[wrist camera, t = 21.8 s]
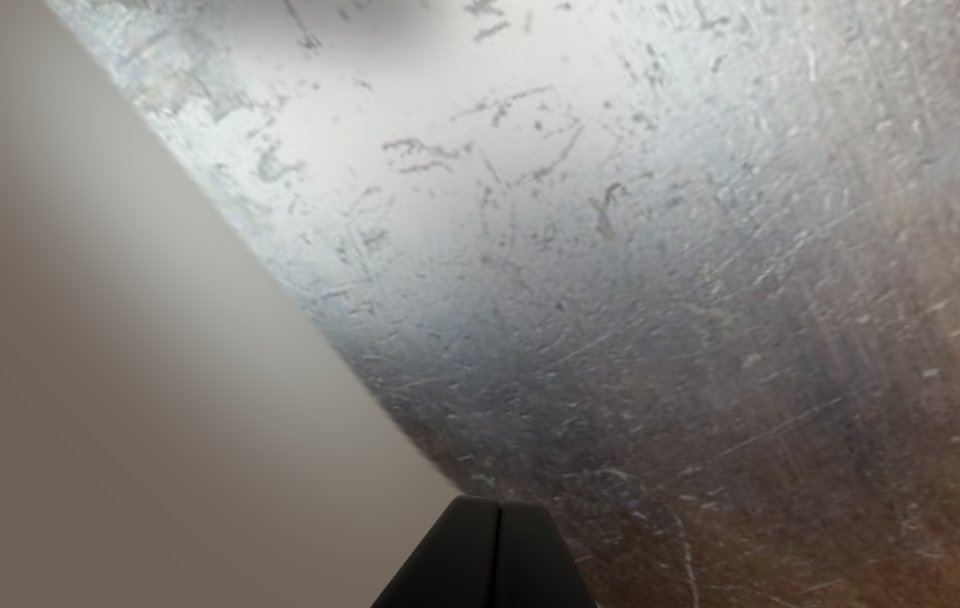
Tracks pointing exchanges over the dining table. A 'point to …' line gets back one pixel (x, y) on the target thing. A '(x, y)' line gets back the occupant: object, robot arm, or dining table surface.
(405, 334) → the dining table surface
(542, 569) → the robot arm
